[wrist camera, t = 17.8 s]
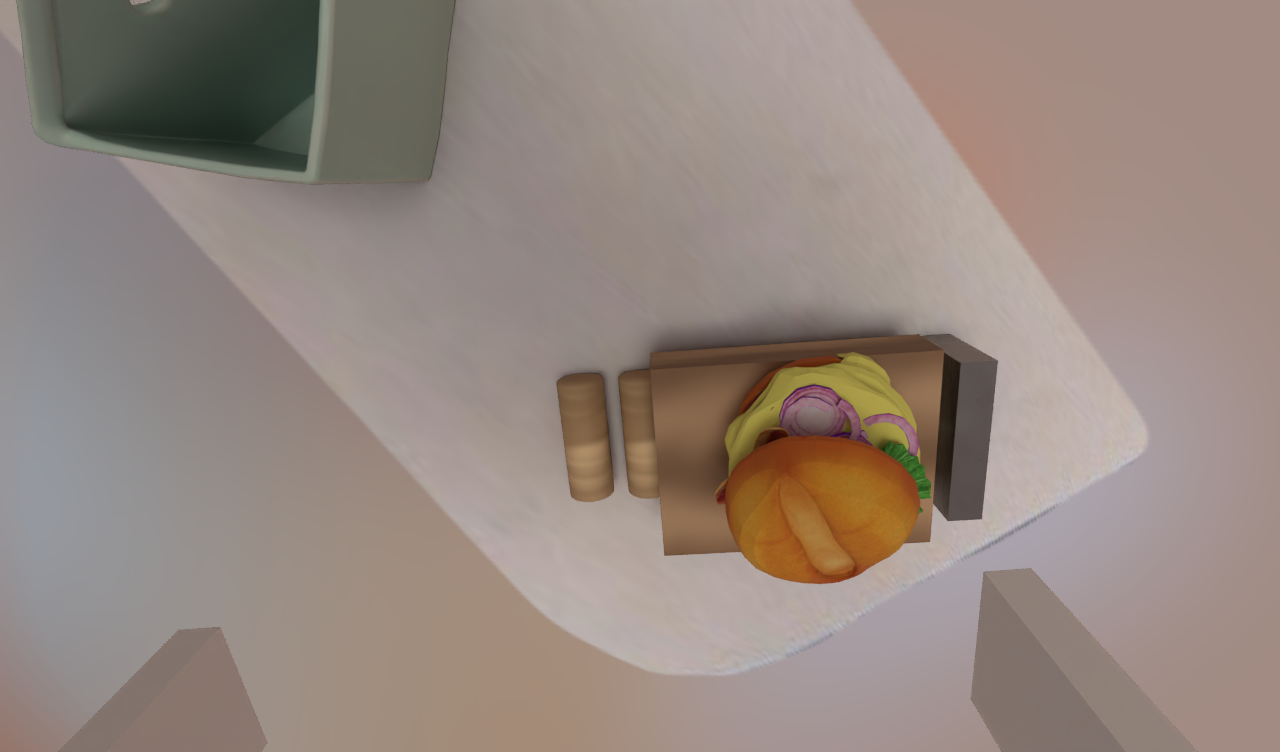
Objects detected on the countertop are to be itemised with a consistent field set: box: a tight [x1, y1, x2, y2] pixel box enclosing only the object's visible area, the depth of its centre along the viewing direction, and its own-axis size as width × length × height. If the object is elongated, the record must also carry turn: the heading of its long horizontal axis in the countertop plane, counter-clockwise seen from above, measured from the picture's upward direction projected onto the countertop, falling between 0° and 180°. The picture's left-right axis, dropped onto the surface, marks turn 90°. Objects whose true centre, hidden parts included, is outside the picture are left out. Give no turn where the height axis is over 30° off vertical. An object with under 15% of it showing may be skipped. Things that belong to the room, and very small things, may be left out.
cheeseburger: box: [715, 352, 931, 584], centre depth 32 cm, size 10×11×10 cm
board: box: [650, 334, 944, 556], centre depth 38 cm, size 12×16×4 cm
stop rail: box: [922, 334, 998, 521], centre depth 39 cm, size 10×2×6 cm, turn 4°
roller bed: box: [557, 369, 660, 502], centre depth 41 cm, size 8×23×3 cm, turn 94°
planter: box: [16, 0, 455, 185], centre depth 28 cm, size 16×8×20 cm, turn 124°
